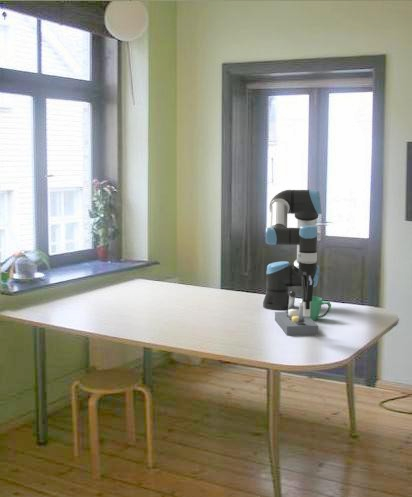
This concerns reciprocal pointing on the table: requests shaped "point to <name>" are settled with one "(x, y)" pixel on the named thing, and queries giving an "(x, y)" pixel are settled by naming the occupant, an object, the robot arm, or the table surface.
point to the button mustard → (294, 318)
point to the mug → (317, 308)
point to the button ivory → (293, 312)
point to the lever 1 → (291, 300)
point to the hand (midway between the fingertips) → (306, 316)
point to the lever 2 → (301, 312)
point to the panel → (296, 325)
